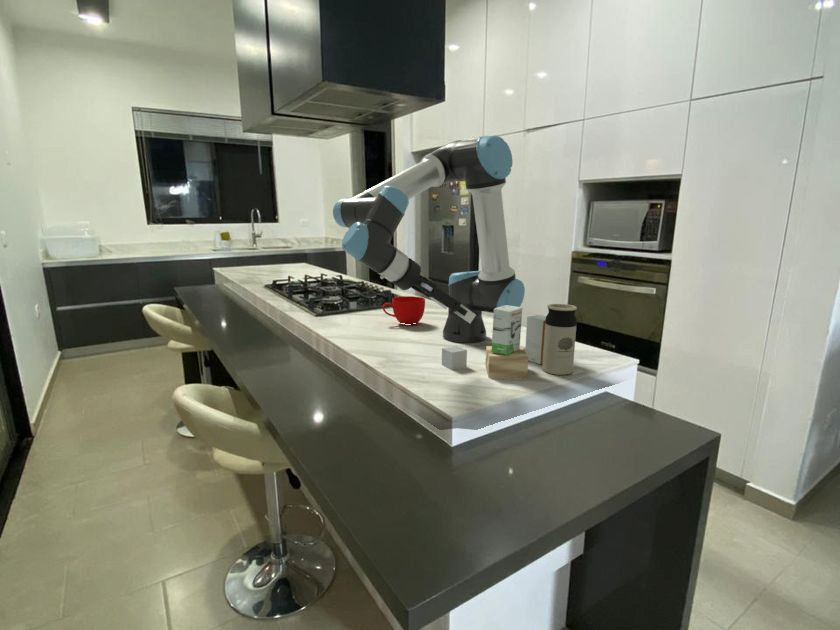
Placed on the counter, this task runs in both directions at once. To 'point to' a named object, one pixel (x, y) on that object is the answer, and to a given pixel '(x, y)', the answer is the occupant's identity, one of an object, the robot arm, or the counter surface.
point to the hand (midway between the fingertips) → (459, 311)
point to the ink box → (506, 329)
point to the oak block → (506, 364)
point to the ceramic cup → (407, 309)
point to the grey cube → (454, 357)
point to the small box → (535, 338)
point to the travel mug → (559, 339)
